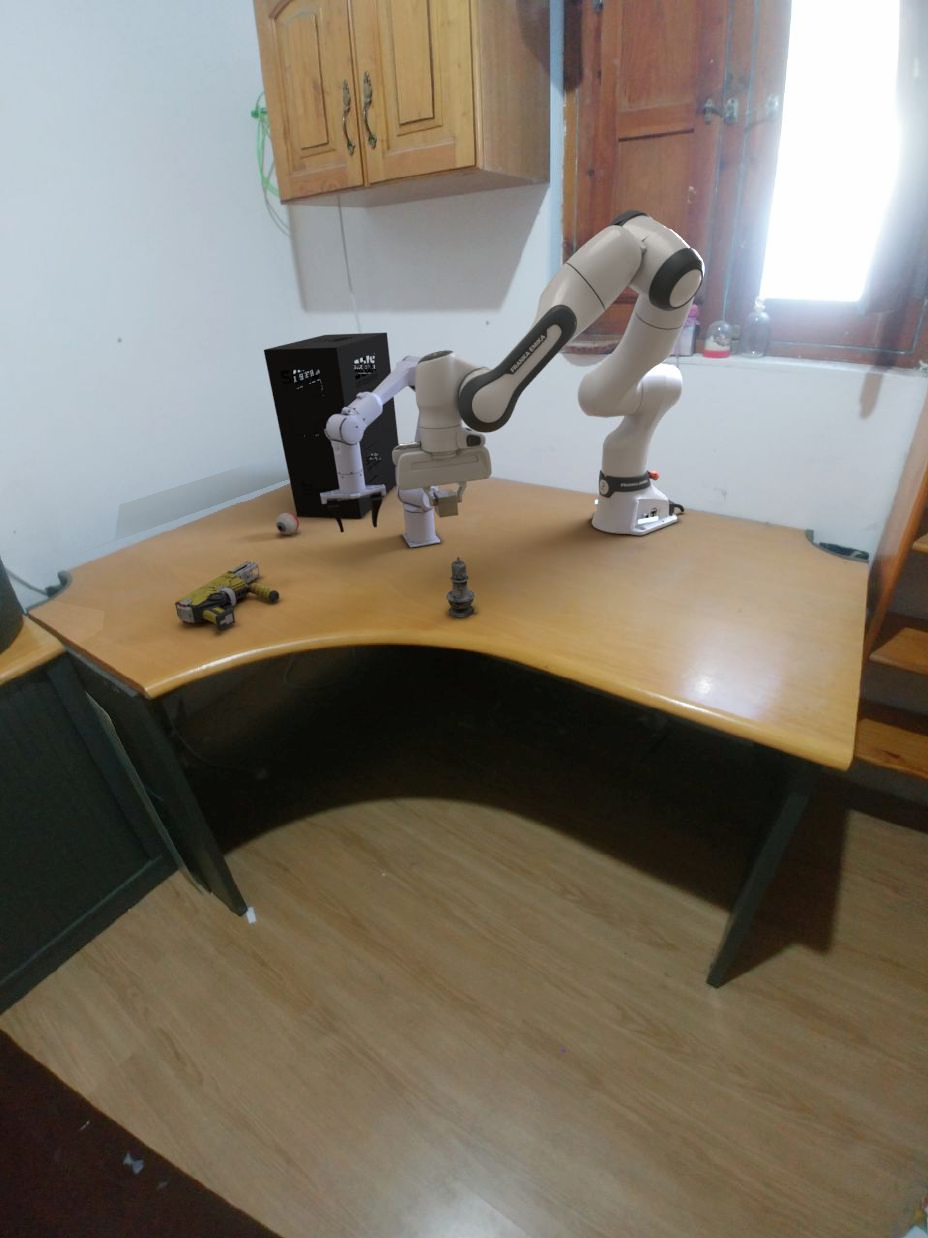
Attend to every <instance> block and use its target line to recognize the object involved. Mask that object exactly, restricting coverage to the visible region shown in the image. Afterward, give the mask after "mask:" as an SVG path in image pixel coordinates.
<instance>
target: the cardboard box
mask: <svg viewBox="0 0 928 1238" xmlns="http://www.w3.org/2000/svg"><path fill="white" fill-rule="evenodd" d="M389 349H390V348H389V339H388V332H363V333H361V332H360V333H340V334H339V333H337V334H334V333H333V334H323V335H318V336H314V337H311V338H305V339H302V340H298V341H293V342H290V343H285V344H282V345H278V346H272V347H270V348H265V349H263V354H264V360H265V364H266V370H267V373H268V379H269V384H270V388H271V394H272V399H273V403H274V410H275V414H276V420H277V423H278V429H279V433H280V438H281V444H282V449H283V454H284V459H285V463H286V469H287V473H288V479H289V484H290V489H291V495H292V499H293V504H294V509H295V513H296V517H315V518H316V517H317V518H335V517H334V515H333V514H332V512H331V511H330V509H329V508H328V505H327V503H326V504H322V501H321V495H320V493H325V492H330V491H334V490H338V489H340V487H339V481H338V474H337V469H336V462H335V456H334V450H333V447H332V443H331V441H330V439H329V438H328V437H327V436H326V434H325V431H324V430H325V429H326V425H327V422H328V420H329V418H330V417H331V416H332V415H334V414H341V412H342V409H343V408H344V407H348V406H349V405H350V404H351V403H352V402H353V401H354V400H356V399H357V396H356V395H357V394H359V393H364V392H370V393H372V392H373V391H374V390H375V389H376V388H377V387H378V386H379V385H380V384H381V383H382V382H383V381H384V379H385V378H386V377H387V376H388V375H389V374H390V373H391V372H392V369H391V357H390V350H389ZM367 357H368V359H367ZM361 359H362V361H361ZM356 361H358V362H356ZM294 371H295V373H294ZM395 407H396V406H395V396H393V397H392V398H391V399H390V400H388V401H387V402H386V403H385V404H383V405H382V413H381V414H380V415H379V416H378V417H377V418H376V419H375V420H374V421H373V422H372V423H371V424H369V425H368V426H367V427H366V429H365V430H364V433H363V437H362V439H361V441H359V445H360V452H361V459H362V467H363V474H364V481H365V486H371V485H384V486H385V489H386V495H387V494H388V493H389V492H390V491H391V490H392V489H394V488H395V486H397V484H396V476H395V468H396V465H395V464H394V463H393V459H392V451H393V449H394V448H395V447H397V446H398V444H400V442H399V435H398V425H397V414H396V408H395ZM397 449H399V448H397ZM386 495H383V496H382V495H381V496H382V499H383V498H384V497H385V496H386ZM338 503H339V507H340V514H341V519H344V518H345V519H346V518H347V519H362V518H363V517H364V516H366V514H367V513H368V512H370V511H371V505H370V499H369V497H362V498H355V499H348V500H341V501H338Z"/></svg>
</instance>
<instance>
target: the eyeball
mask: <svg viewBox="0 0 928 1238" xmlns="http://www.w3.org/2000/svg"><path fill="white" fill-rule="evenodd" d="M299 525H300V522H299V519H298V516H297V515H295V514H294V513H292V512H287V511H286V512H282V513H280V514H279V515H278V516H277V517H276V520H275V527H276V529H277V530H278V531H279V532H280V533H281V534H282V535H285V536H286V535H287V536H289V535H293V534H295V533H296V532H297V531H298V529H299Z"/></svg>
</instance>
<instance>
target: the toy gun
mask: <svg viewBox="0 0 928 1238" xmlns="http://www.w3.org/2000/svg"><path fill="white" fill-rule="evenodd" d="M251 562H252V561H251V560H247V561H245V562H244V563H242V564H240V565H239V566H237V567H235V568H234V569H232V570H228V571H226V572H225V573H223V574H221V575H220V576H218V577H216V578H214V579H212V580H211V581H209V582H207V583H205V584H203V585H202V586H201V587H199V588H197V589H195V590H193V591H192V592H189V594H187V595H185V596H183V597H181V598H180V599H178V600H176V601H175V603H174V606H175V610H176V615H177V617H178V618H179V620H181V622H182V623H183V624H185V623H186V624H187V625H189V624H192V623H193V624H198V623H199V624H200V623H204V622H207V621H209V622H212V623H213V624H215V625H216V628H217V631H222V630H224V629H226V628H228V627H230V626H231V625H233V624H235V623H236V619H235V611H234V609H233V607H234V606H236V605H237V600H239V599H241V598H242V597H245V596H247V595H249V594H252V595H255V596H258V597H259V598H263V599H265V600H268V601H270V602H272V603H275V602H277V601H278V600H279V599H280V593H279V591H278V590H276V589H271V588H269V587H268V588H267V587H266V586H263V585H262V584H261V585H260V584H258V583H256V582H254V583H252V584H251V585H248V584H249V583H250V582H253V581H254V580H255V579H257V578H259V577H260V567H259V564H258V563H257V562H256V561H253V562H252V563H251ZM256 569H257V573H254V571H255V570H256Z"/></svg>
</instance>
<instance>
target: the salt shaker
mask: <svg viewBox="0 0 928 1238" xmlns="http://www.w3.org/2000/svg"><path fill="white" fill-rule="evenodd" d="M450 567H451V577H450V578H449V579H450V581H451V586H452V588H451V590H449V591H448V592H447V593H446V594H445V598H446V600H447V602H448V604H449V606H450V607H449V609H448V614H449V615H450V616H452V617H455V618H466V617H470V616H471V615H473V614H474V612H475V608H474V606H473V603H474V600H475V597H476V593H475V592H474V591H473V590H471V589H469V587H468V581H469V576H468V575H467V564H466V562H465V561H464V560H461V558H460V557H459V556H457V557H456V560H454V561H453V562H452V563H451V566H450Z"/></svg>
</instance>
